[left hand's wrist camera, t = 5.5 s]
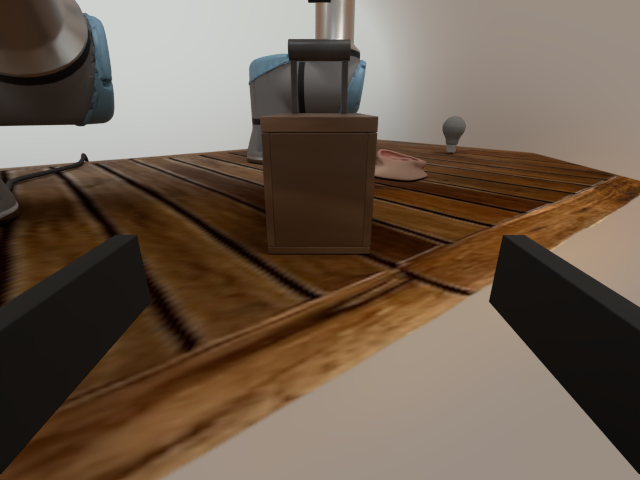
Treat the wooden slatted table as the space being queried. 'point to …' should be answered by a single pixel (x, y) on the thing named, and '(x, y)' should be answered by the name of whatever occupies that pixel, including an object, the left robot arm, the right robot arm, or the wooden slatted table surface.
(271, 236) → the chest
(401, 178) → the anatomical model
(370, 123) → the lid
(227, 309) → the wooden slatted table surface
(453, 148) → the light bulb
